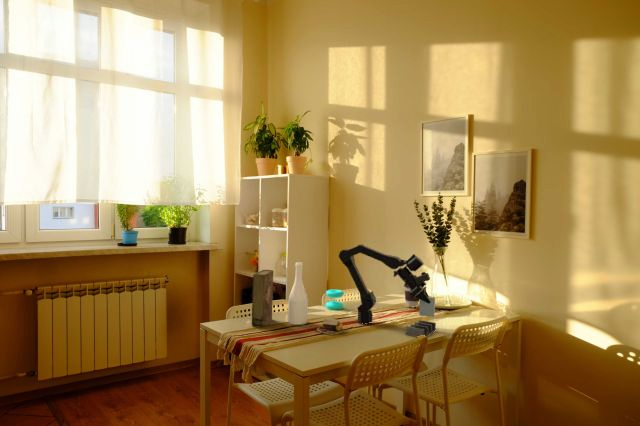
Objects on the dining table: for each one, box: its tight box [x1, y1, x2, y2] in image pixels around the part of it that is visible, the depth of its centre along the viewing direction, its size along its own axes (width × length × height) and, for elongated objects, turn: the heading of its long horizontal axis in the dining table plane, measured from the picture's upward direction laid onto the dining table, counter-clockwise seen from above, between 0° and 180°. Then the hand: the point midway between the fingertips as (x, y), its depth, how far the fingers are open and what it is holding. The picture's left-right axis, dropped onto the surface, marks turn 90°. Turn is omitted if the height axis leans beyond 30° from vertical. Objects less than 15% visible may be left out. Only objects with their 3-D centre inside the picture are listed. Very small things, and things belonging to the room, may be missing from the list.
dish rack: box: [404, 319, 437, 338], centre depth 240 cm, size 9×16×4 cm, turn 147°
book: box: [251, 269, 274, 327], centre depth 250 cm, size 16×6×25 cm, turn 168°
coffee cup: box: [403, 283, 420, 306], centre depth 297 cm, size 10×10×15 cm
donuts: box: [325, 289, 345, 311], centre depth 288 cm, size 10×10×10 cm
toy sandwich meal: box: [316, 318, 344, 335], centre depth 239 cm, size 12×14×5 cm
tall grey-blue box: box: [418, 296, 436, 318], centre depth 246 cm, size 7×3×9 cm, turn 72°
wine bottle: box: [287, 261, 309, 326], centre depth 252 cm, size 10×10×30 cm
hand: (430, 302), depth 246 cm, fingers closed on tall grey-blue box, 3 cm apart
